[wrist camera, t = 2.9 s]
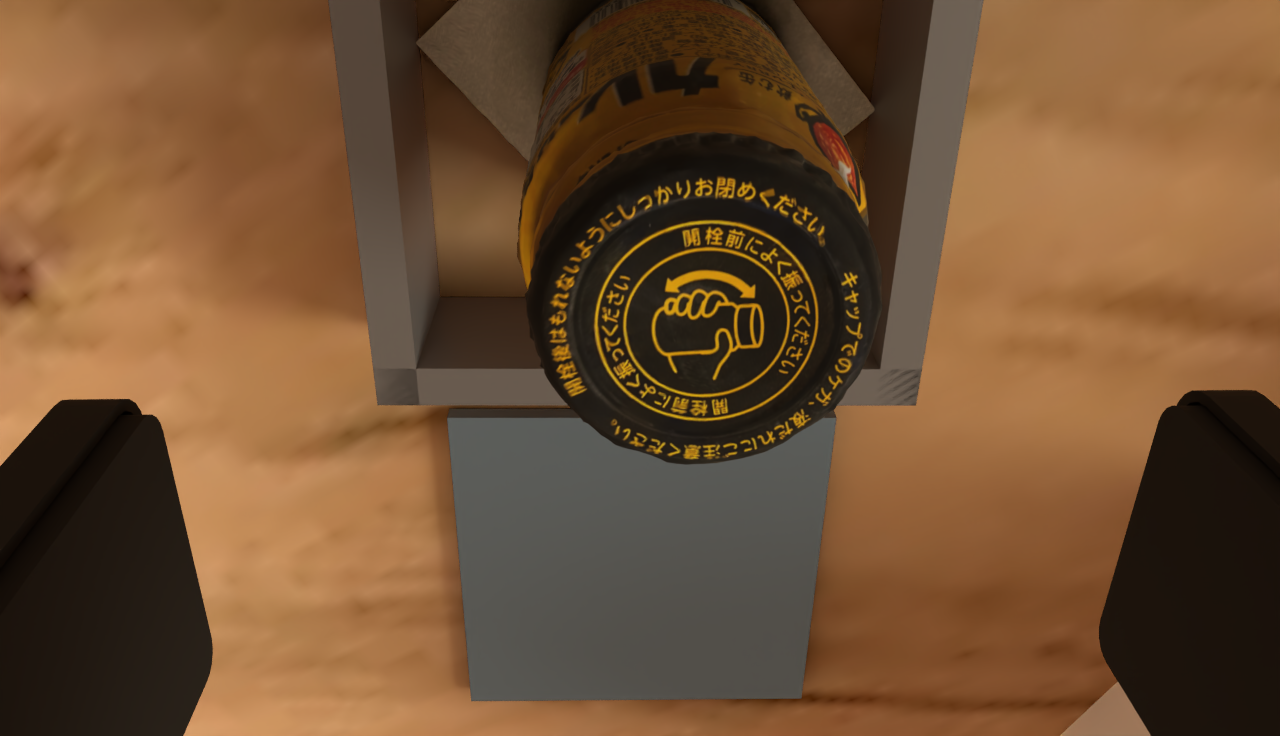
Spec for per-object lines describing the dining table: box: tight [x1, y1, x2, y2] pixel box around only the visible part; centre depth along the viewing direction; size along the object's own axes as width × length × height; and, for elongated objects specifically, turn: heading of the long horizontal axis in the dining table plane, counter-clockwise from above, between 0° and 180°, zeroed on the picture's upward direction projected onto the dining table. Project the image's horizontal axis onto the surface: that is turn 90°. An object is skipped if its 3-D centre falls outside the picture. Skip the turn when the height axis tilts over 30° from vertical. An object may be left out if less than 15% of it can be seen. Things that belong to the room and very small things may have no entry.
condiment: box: [416, 0, 883, 465], centre depth 20 cm, size 7×8×12 cm
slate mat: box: [447, 409, 836, 701], centre depth 32 cm, size 11×11×1 cm
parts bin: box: [328, 0, 983, 405], centre depth 24 cm, size 14×13×4 cm
